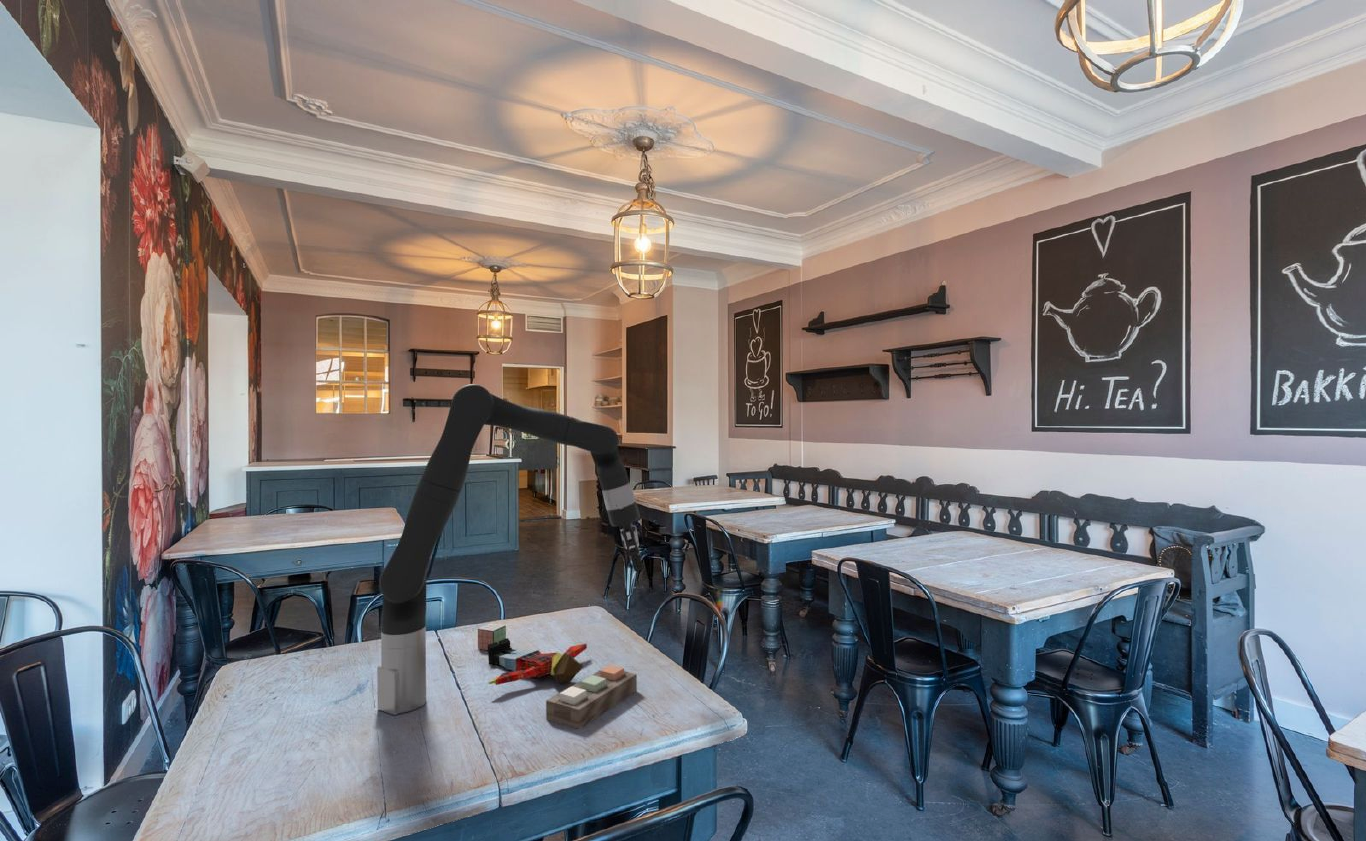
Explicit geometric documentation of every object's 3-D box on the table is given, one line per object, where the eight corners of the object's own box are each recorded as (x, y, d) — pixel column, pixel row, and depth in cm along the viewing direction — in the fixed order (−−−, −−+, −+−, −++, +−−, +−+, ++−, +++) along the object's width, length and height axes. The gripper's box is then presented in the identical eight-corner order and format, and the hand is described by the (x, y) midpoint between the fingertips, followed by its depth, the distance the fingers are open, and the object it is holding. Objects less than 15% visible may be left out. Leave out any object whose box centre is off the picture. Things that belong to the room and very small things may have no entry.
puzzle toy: (506, 645, 180) (506, 625, 180) (493, 651, 175) (493, 631, 175) (490, 642, 182) (490, 622, 182) (477, 649, 177) (477, 628, 177)
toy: (447, 690, 156) (525, 710, 138) (445, 659, 156) (522, 675, 138) (544, 653, 180) (620, 666, 162) (542, 626, 181) (618, 636, 163)
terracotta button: (614, 686, 144) (614, 673, 144) (600, 683, 146) (600, 670, 146) (624, 680, 148) (624, 667, 148) (610, 677, 150) (610, 664, 150)
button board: (579, 729, 130) (578, 709, 130) (546, 719, 134) (546, 700, 134) (636, 691, 148) (636, 674, 148) (606, 683, 152) (606, 666, 152)
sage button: (595, 698, 138) (594, 685, 138) (580, 694, 140) (580, 681, 140) (606, 691, 142) (606, 678, 142) (592, 688, 144) (592, 675, 144)
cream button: (574, 711, 132) (574, 697, 132) (559, 707, 134) (559, 693, 134) (586, 703, 136) (586, 690, 136) (572, 700, 138) (571, 686, 138)
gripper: (606, 503, 163) (623, 562, 164) (605, 513, 149) (624, 578, 150) (634, 494, 163) (651, 553, 164) (636, 504, 149) (654, 569, 150)
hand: (638, 565), depth 157 cm, fingers open, 8 cm apart
